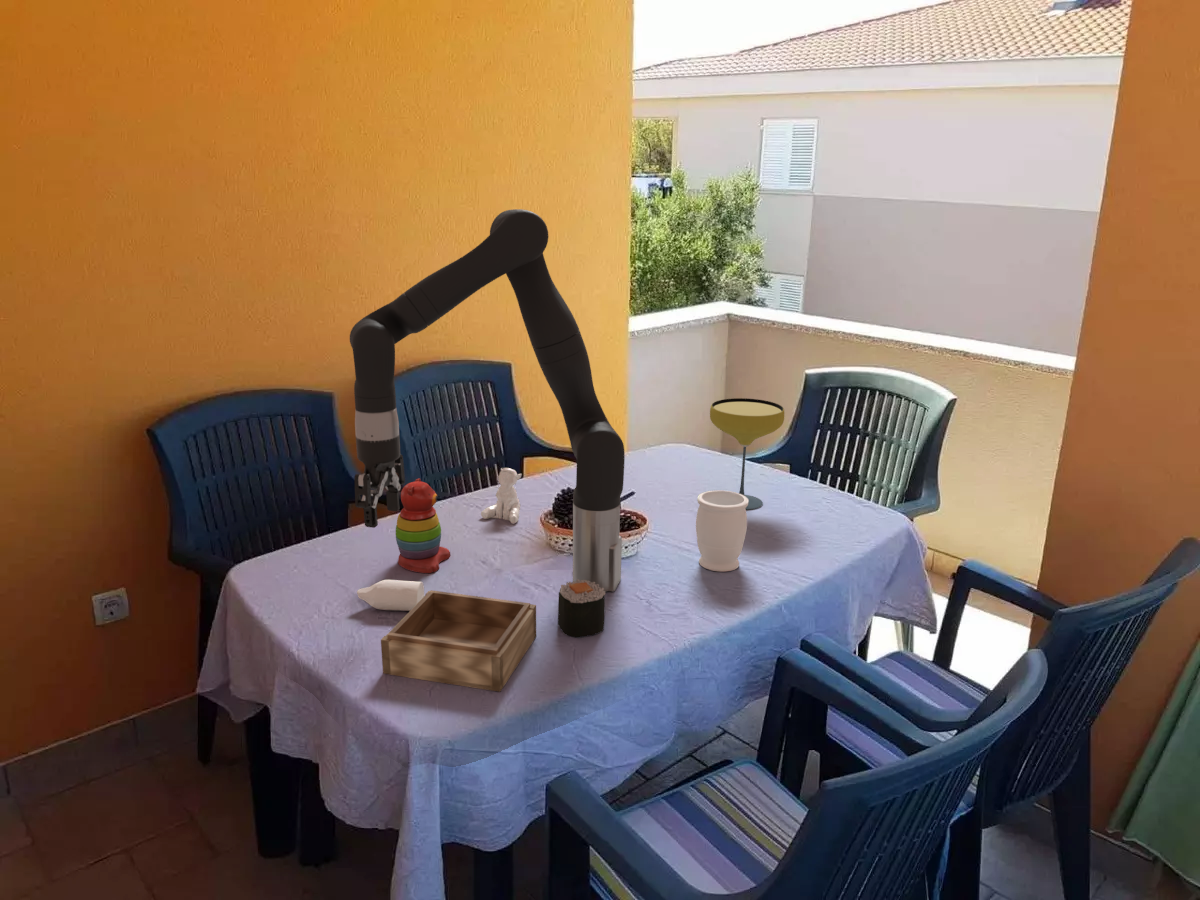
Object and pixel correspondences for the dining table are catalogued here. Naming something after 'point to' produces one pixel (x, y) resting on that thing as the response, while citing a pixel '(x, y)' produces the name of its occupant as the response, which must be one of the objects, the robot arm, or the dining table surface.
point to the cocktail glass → (747, 426)
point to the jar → (721, 529)
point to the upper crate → (460, 622)
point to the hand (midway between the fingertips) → (382, 518)
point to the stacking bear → (419, 529)
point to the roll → (393, 594)
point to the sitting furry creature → (505, 498)
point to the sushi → (581, 608)
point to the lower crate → (460, 659)
